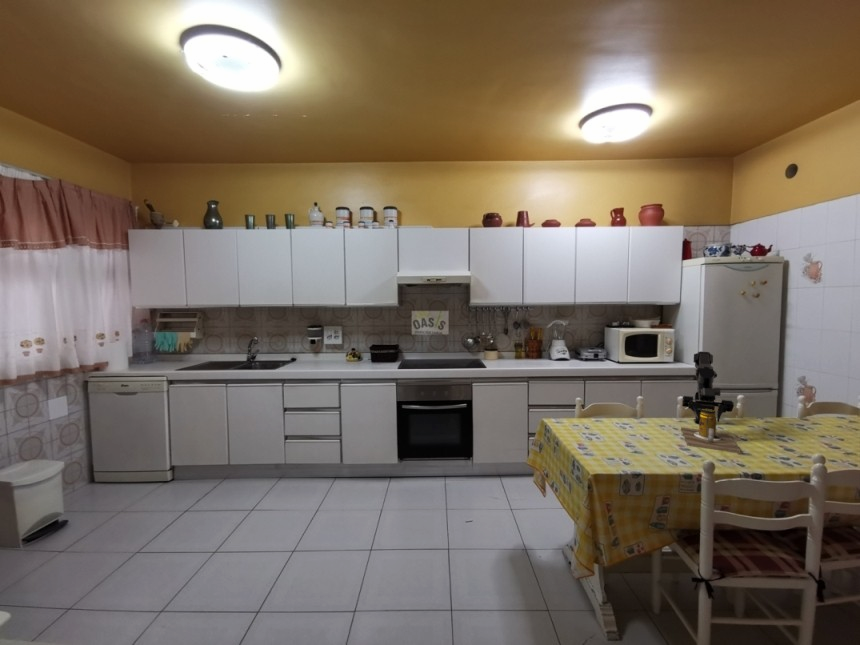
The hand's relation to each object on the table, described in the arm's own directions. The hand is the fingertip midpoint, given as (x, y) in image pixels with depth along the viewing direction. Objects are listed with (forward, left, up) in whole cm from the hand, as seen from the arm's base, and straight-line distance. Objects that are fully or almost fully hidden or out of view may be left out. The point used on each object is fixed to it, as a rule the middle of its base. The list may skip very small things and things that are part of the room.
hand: (708, 419), depth 167 cm
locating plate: (+1, 0, -9) cm, 9 cm away
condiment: (-2, +1, -8) cm, 8 cm away
